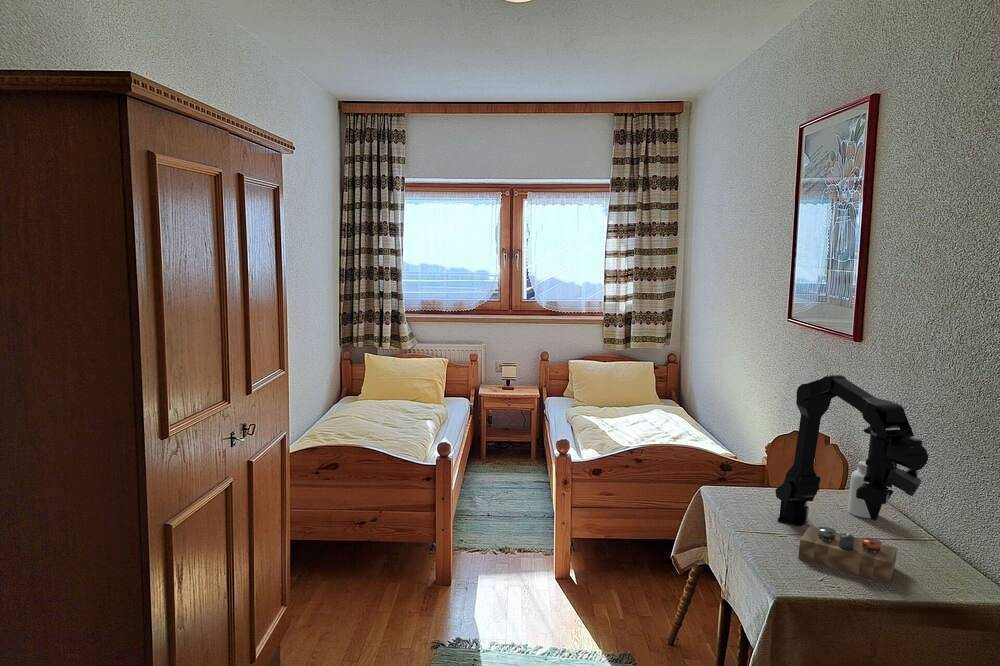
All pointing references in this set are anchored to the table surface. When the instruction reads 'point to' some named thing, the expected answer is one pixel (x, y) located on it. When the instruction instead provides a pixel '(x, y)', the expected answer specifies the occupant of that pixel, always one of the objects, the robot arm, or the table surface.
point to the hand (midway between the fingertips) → (874, 519)
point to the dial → (846, 541)
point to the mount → (848, 556)
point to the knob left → (826, 533)
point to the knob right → (871, 544)
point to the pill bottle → (857, 479)
